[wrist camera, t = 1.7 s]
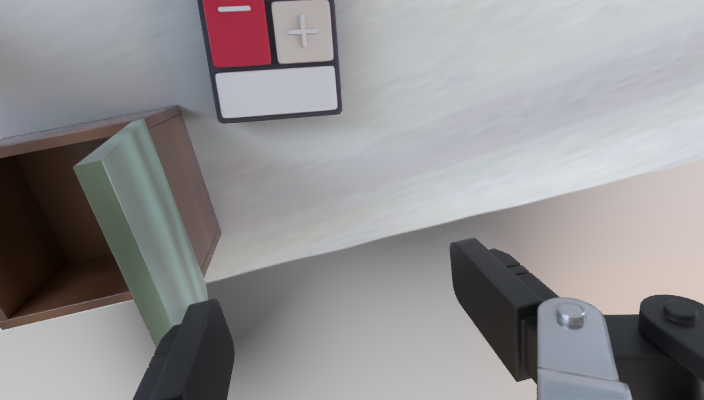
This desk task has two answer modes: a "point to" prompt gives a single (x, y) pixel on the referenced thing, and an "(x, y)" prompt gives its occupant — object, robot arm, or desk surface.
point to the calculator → (272, 58)
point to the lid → (143, 227)
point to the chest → (81, 217)
